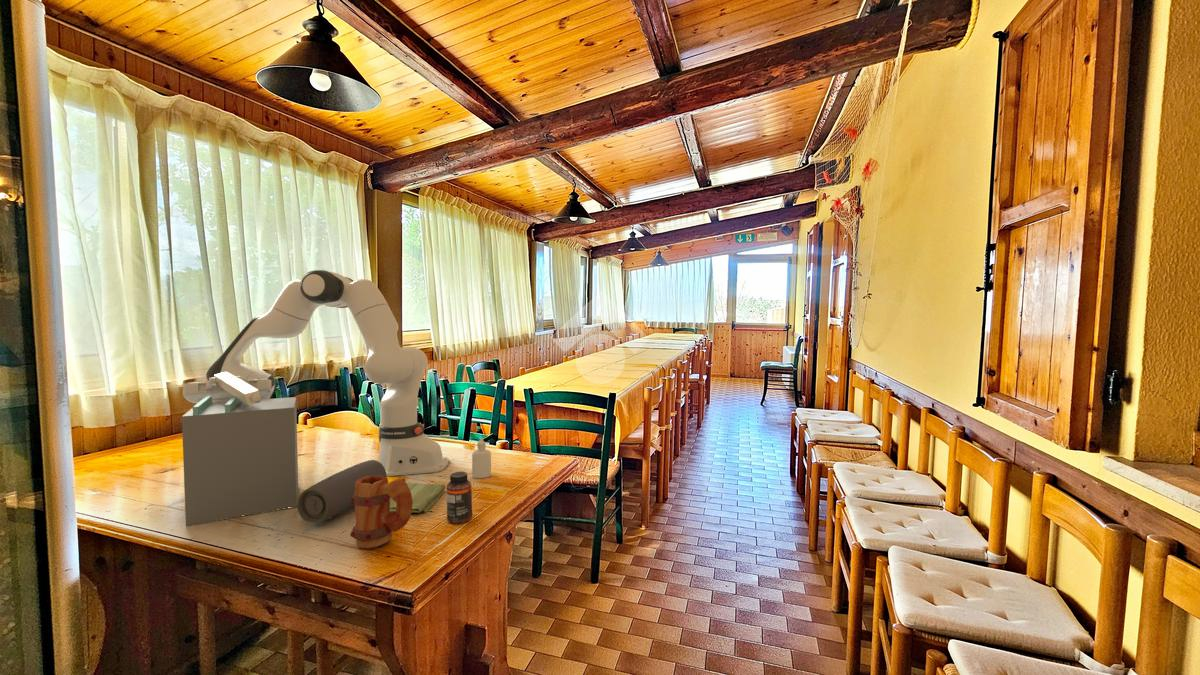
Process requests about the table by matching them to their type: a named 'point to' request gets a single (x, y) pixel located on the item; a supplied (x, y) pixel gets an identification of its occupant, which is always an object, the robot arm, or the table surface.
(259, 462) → the stand
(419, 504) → the washcloth
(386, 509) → the mug
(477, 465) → the eye dropper bottle
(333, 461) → the table surface
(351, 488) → the bluetooth speaker
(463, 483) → the supplement bottle
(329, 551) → the table surface
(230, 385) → the bar
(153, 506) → the table surface
